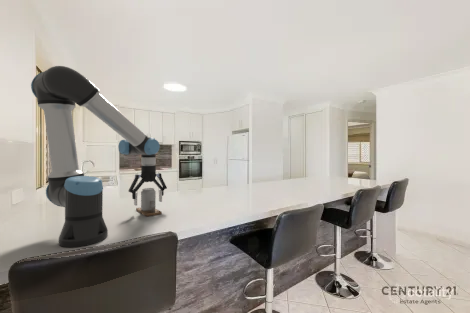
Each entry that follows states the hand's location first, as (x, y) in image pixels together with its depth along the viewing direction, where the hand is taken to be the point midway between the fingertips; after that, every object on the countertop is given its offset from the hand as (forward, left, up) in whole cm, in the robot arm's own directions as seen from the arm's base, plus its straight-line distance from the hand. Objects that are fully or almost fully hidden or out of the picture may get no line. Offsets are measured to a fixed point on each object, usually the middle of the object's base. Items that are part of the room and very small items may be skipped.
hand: (148, 203), depth 120 cm
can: (0, 0, -4) cm, 4 cm away
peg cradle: (0, 0, -5) cm, 5 cm away
